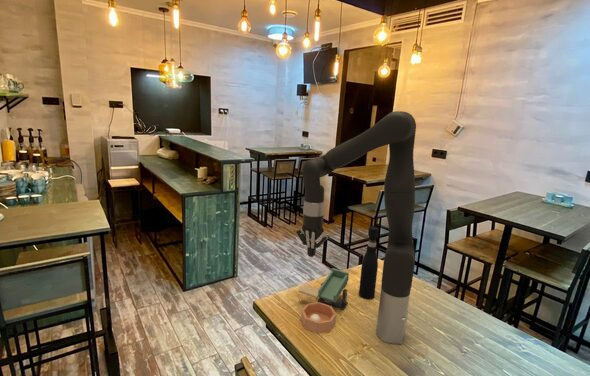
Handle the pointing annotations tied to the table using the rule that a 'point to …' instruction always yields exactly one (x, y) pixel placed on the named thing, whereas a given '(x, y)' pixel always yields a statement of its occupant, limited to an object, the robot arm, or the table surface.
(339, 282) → the chute
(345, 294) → the chute stand
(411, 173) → the robot arm
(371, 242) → the wine bottle
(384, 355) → the table surface
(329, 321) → the pink octagonal bowl
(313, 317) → the ball
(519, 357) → the table surface
